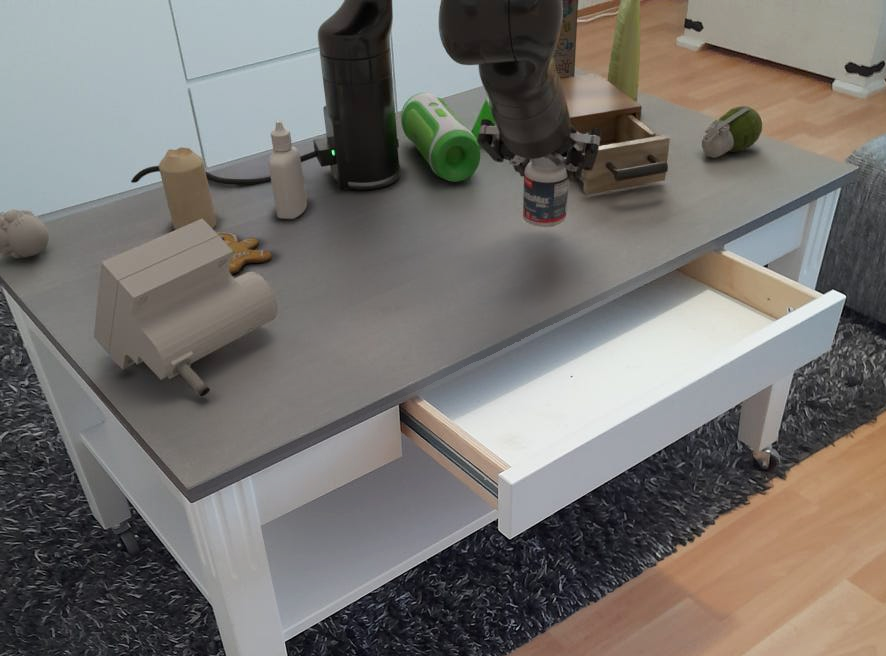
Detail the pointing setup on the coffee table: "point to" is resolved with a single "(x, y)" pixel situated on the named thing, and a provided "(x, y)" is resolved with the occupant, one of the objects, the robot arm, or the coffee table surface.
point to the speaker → (440, 137)
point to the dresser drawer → (624, 154)
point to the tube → (626, 49)
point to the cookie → (243, 252)
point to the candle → (186, 188)
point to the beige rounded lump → (22, 234)
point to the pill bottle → (545, 193)
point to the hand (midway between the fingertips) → (549, 171)
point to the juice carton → (567, 40)
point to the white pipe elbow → (177, 302)
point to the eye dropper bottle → (286, 175)
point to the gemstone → (483, 114)
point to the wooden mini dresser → (596, 99)
